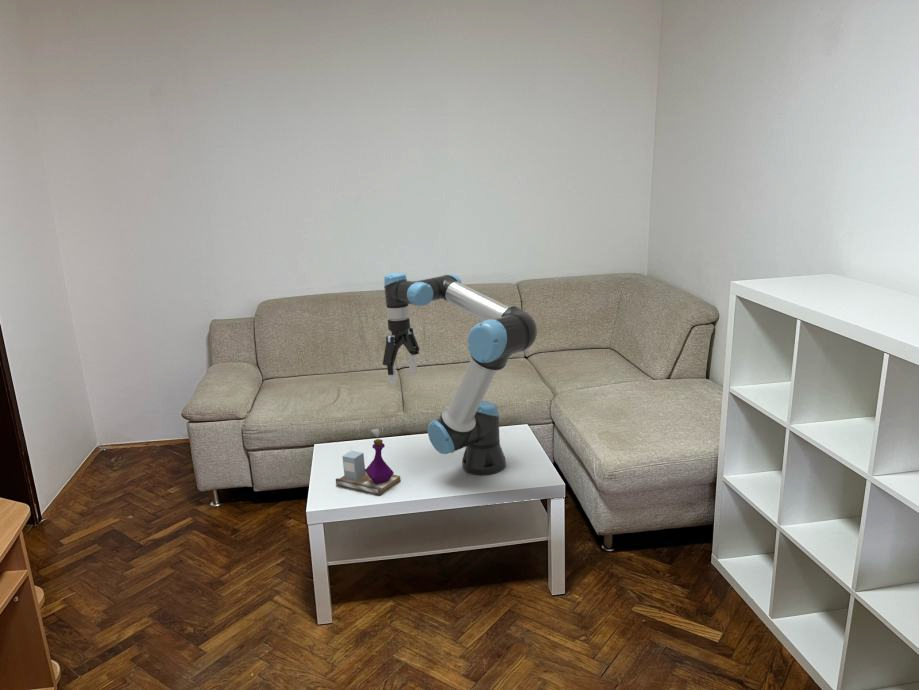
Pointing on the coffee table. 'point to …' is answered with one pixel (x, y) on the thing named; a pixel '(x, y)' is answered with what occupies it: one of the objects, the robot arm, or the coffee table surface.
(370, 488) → the display board
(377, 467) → the perfume bottle
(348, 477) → the tea tin
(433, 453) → the coffee table surface
